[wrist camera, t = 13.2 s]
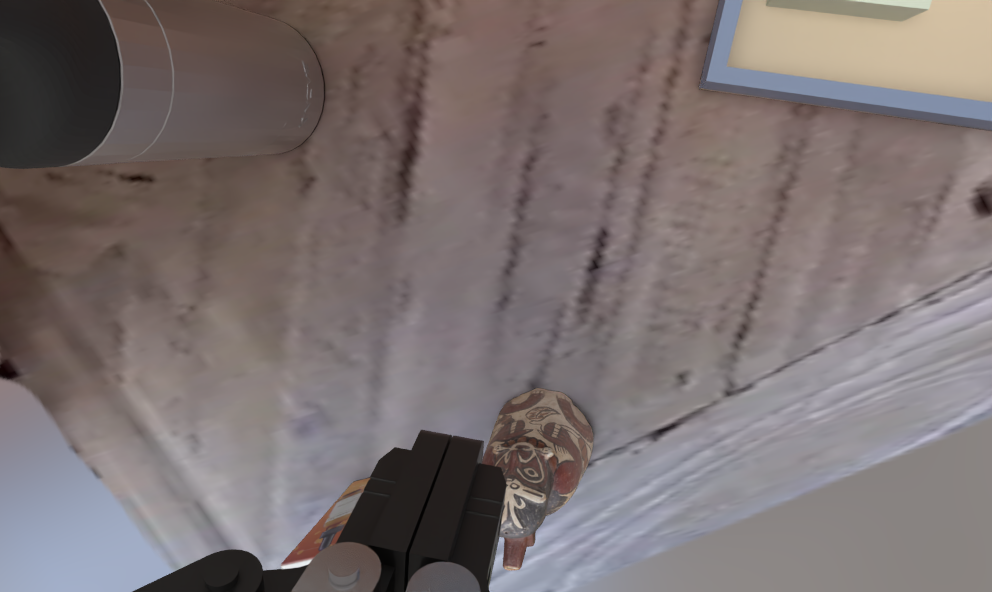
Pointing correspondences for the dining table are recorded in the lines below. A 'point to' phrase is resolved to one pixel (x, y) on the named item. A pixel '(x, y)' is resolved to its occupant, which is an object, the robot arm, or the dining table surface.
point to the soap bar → (859, 7)
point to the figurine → (536, 463)
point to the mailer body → (858, 60)
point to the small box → (326, 528)
